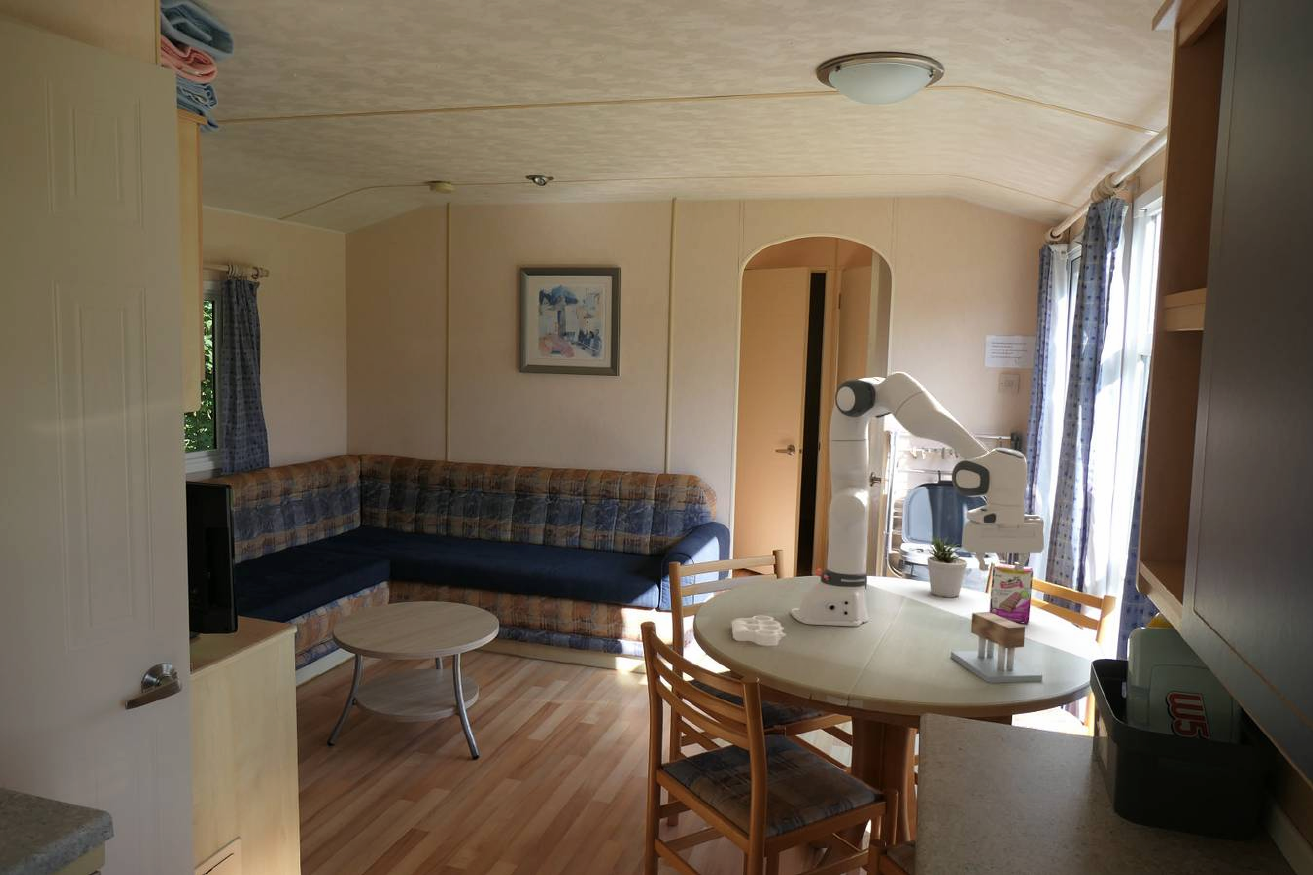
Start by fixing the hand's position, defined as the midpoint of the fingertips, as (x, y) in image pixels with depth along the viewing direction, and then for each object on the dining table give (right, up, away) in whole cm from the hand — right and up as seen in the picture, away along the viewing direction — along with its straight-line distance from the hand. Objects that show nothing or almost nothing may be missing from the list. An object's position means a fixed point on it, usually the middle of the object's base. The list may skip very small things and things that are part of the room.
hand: (1001, 570), depth 215 cm
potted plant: (+11, -19, +75) cm, 78 cm away
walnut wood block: (-1, -17, +1) cm, 18 cm away
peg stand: (-1, -25, +2) cm, 25 cm away
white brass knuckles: (-57, -22, +23) cm, 65 cm away
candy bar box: (+21, -22, +46) cm, 55 cm away
